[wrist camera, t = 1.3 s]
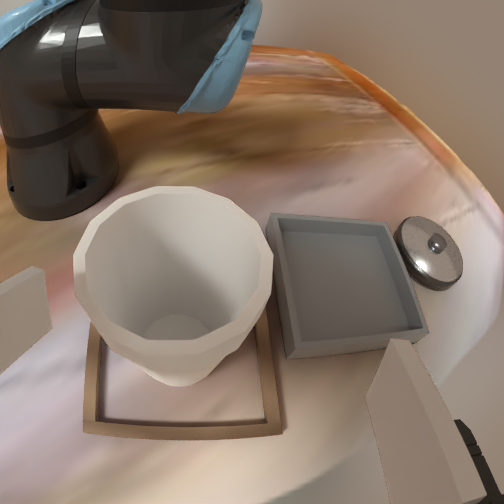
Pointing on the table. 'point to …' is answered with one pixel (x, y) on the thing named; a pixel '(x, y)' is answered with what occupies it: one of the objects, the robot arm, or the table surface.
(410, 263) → the metal pot lid
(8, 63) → the robot arm
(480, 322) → the table surface
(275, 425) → the square wooden frame
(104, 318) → the foam cup
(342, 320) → the tray
